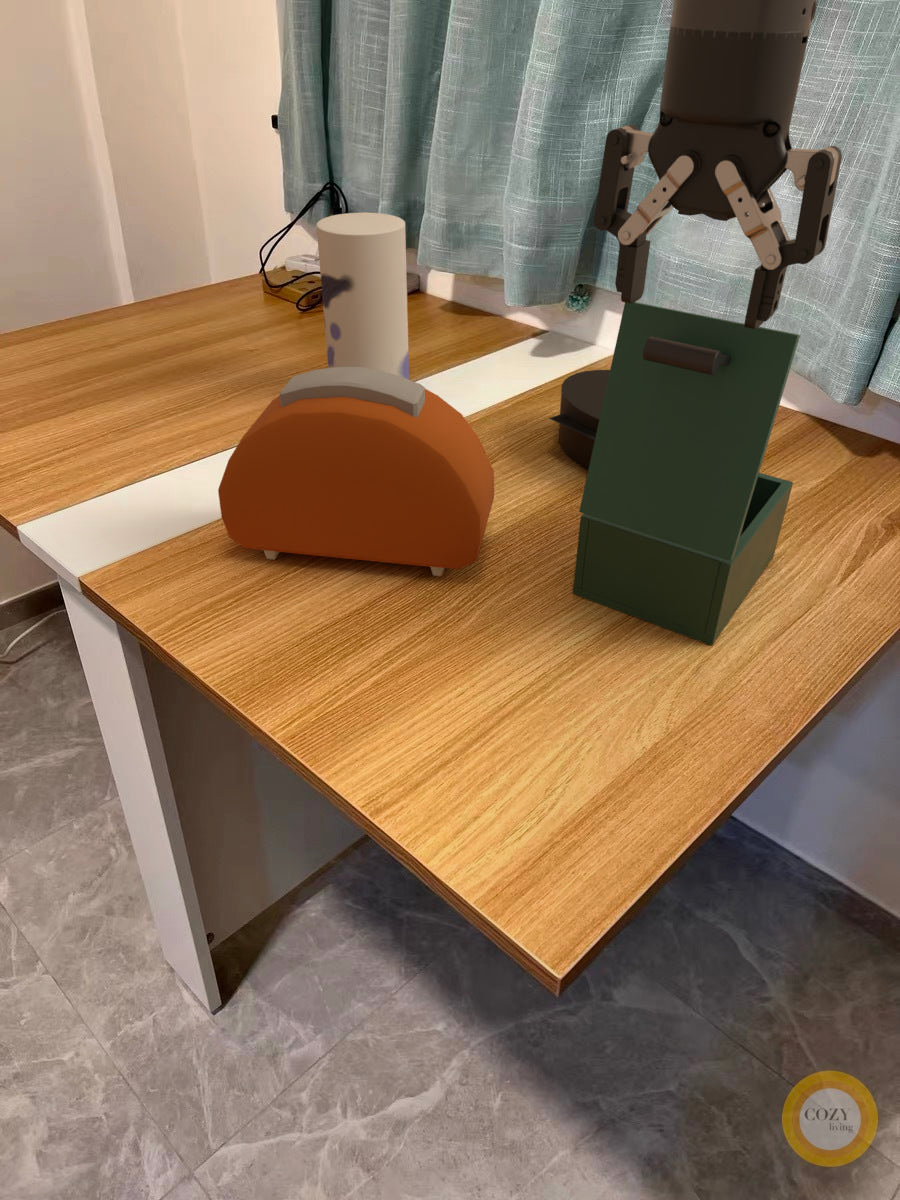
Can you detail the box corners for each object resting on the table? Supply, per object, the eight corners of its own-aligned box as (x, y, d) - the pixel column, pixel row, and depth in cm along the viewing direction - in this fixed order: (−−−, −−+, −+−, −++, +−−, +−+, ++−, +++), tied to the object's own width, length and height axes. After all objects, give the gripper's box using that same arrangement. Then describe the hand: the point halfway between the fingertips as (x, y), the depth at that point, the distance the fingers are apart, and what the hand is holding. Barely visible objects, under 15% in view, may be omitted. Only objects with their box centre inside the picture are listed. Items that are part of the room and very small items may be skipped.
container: (314, 388, 112) (298, 220, 100) (375, 367, 118) (367, 206, 106) (363, 412, 106) (352, 237, 94) (425, 390, 112) (423, 222, 100)
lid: (629, 300, 65) (600, 300, 61) (800, 334, 60) (782, 336, 56) (582, 510, 72) (554, 522, 68) (733, 559, 66) (712, 575, 62)
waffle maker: (619, 417, 108) (622, 357, 104) (734, 467, 95) (742, 401, 91) (523, 450, 102) (522, 388, 97) (632, 508, 89) (636, 439, 85)
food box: (646, 516, 87) (657, 444, 82) (773, 556, 81) (793, 481, 77) (572, 593, 77) (580, 516, 72) (712, 645, 71) (730, 565, 66)
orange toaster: (493, 532, 85) (500, 363, 75) (480, 585, 77) (485, 407, 68) (259, 510, 88) (235, 345, 78) (225, 559, 81) (194, 385, 71)
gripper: (593, 18, 50) (569, 307, 59) (856, 30, 43) (780, 352, 53) (648, 12, 55) (617, 280, 64) (890, 22, 48) (816, 317, 58)
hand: (691, 312), depth 59 cm, fingers open, 8 cm apart
